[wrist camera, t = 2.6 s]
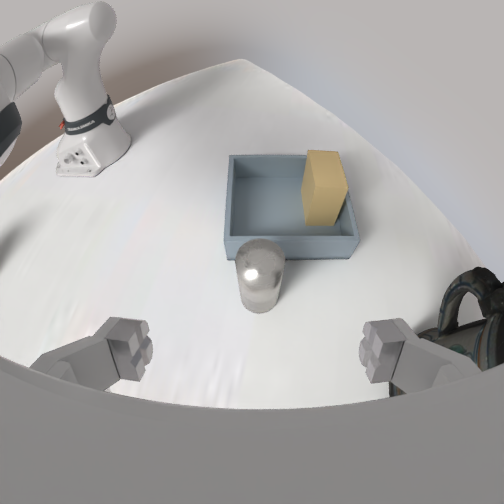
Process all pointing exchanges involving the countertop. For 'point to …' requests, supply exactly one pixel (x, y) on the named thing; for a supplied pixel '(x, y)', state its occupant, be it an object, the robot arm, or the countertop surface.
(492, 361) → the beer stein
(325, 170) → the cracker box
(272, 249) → the tin
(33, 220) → the countertop surface
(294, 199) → the tote
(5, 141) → the robot arm
